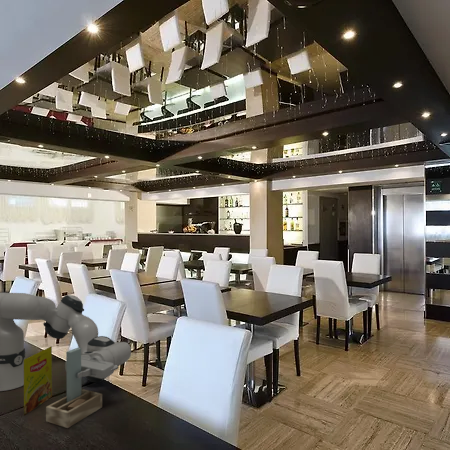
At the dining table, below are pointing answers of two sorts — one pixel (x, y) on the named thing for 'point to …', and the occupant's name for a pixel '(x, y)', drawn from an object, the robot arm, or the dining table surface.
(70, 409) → the upper offcut
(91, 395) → the slot rack
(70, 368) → the blue-grey rectangular bar
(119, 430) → the dining table surface
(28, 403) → the food package
